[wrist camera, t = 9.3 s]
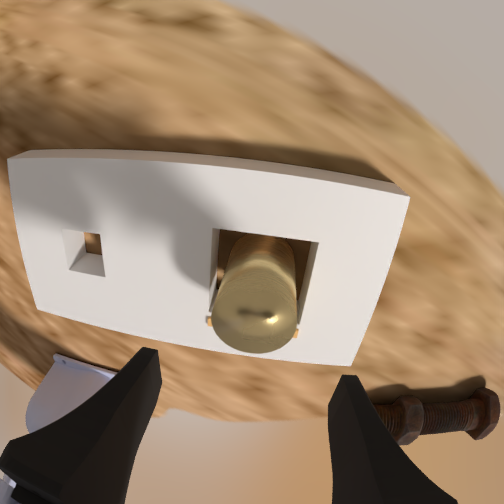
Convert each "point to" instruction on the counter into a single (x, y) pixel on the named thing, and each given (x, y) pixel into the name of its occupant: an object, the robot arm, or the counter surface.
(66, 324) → the counter surface
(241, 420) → the counter surface
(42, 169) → the fitting plate
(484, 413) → the bolt
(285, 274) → the brass cylinder
